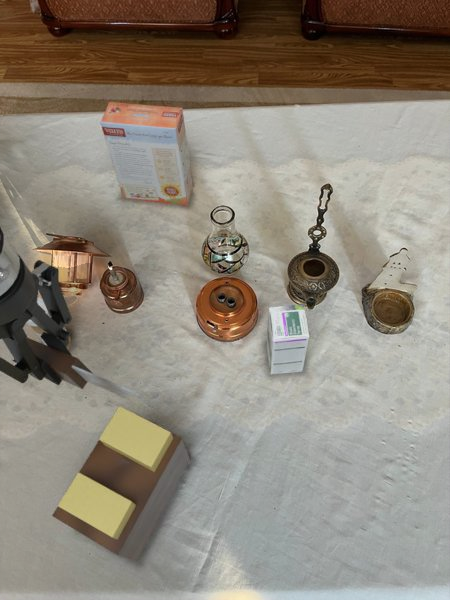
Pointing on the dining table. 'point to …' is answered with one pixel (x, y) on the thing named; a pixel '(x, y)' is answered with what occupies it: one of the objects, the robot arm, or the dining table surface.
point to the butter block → (136, 438)
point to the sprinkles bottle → (37, 328)
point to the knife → (80, 372)
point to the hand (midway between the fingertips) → (59, 368)
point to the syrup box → (287, 338)
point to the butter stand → (131, 494)
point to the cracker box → (149, 152)
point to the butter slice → (97, 505)
